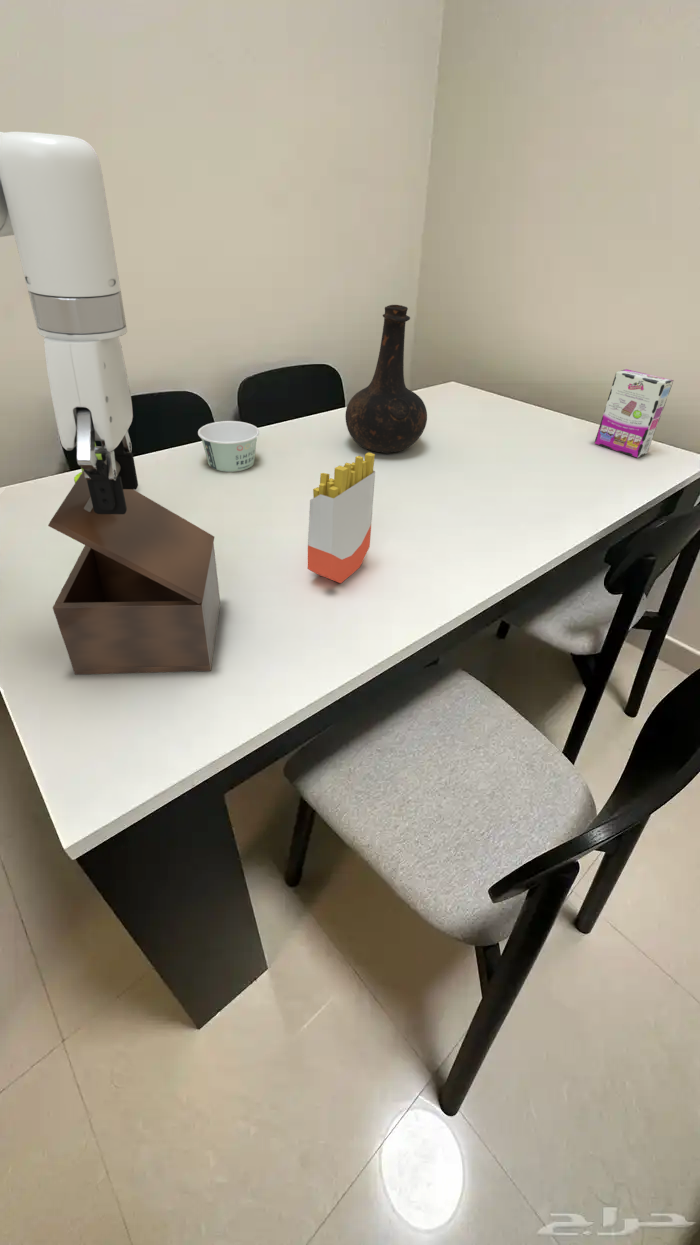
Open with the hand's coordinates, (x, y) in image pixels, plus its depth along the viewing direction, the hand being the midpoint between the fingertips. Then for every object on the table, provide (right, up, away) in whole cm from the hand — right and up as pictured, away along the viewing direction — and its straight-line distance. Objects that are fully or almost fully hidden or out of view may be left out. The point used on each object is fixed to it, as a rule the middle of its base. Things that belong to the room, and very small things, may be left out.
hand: (117, 498), depth 63 cm
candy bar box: (+88, +27, +73) cm, 118 cm away
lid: (+2, -3, +3) cm, 5 cm away
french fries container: (+23, -6, +26) cm, 36 cm away
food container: (+1, +19, +57) cm, 60 cm away
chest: (0, -15, +12) cm, 19 cm away
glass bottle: (+33, +26, +68) cm, 79 cm away
